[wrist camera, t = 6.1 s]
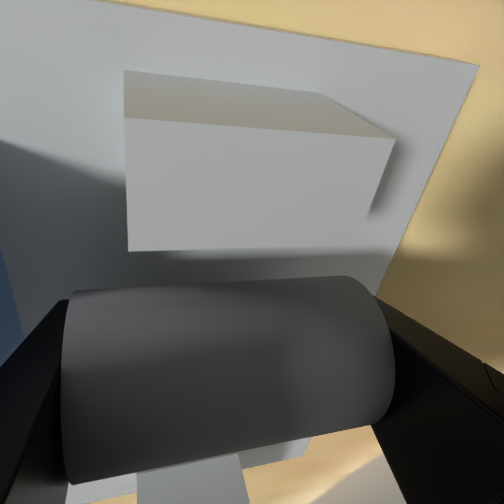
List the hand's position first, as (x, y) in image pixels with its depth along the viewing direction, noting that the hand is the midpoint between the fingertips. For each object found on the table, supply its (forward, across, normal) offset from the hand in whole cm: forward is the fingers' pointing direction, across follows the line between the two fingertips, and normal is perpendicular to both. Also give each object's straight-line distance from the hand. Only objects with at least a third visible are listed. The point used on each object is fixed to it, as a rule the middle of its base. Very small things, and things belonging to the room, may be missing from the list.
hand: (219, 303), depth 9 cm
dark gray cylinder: (0, 0, 0) cm, 0 cm away
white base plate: (+3, 0, +4) cm, 4 cm away
